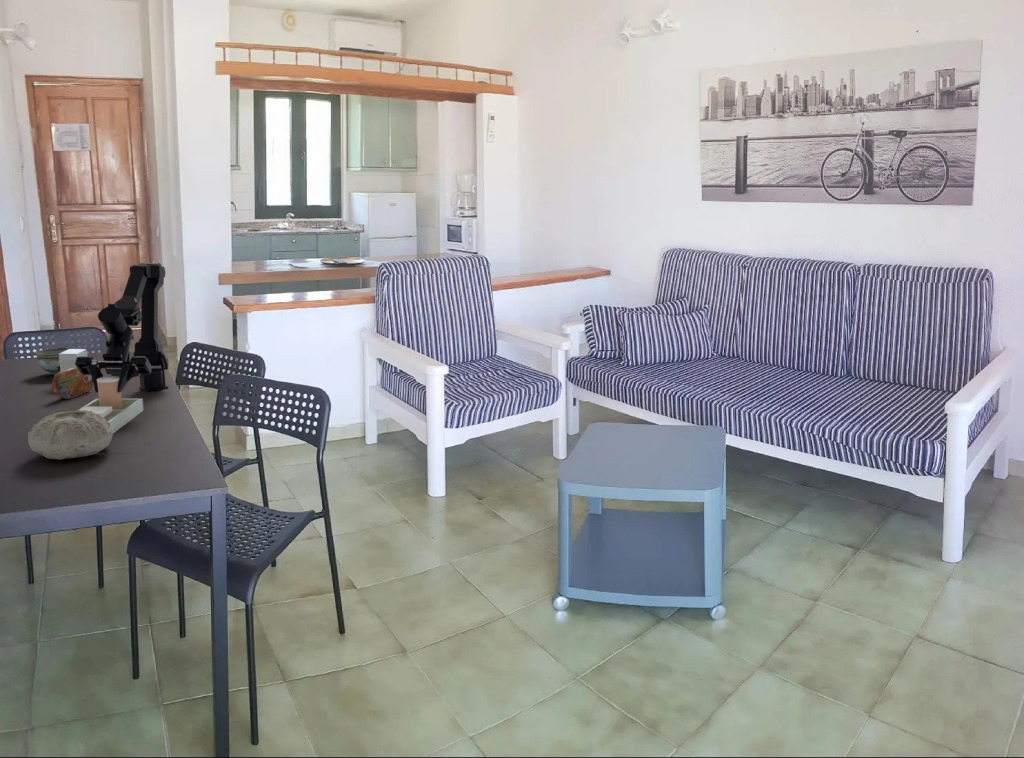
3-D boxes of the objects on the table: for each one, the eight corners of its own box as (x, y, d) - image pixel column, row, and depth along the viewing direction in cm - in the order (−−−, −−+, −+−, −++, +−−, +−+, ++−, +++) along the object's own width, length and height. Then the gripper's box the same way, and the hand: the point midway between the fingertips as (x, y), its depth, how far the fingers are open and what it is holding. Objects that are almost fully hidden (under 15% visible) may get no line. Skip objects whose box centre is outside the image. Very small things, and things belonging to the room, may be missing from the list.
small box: (72, 380, 273) (68, 348, 271) (90, 380, 274) (86, 348, 271) (61, 386, 265) (57, 353, 263) (79, 386, 266) (76, 353, 263)
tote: (97, 412, 236) (96, 398, 235) (143, 412, 237) (142, 398, 236) (59, 438, 212) (57, 422, 212) (110, 437, 214) (109, 422, 213)
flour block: (86, 424, 222) (84, 406, 221) (114, 424, 223) (112, 406, 222) (74, 432, 215) (73, 413, 214) (103, 432, 216) (101, 413, 215)
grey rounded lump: (116, 460, 196) (112, 419, 194) (29, 471, 188) (24, 428, 186) (112, 440, 212) (108, 401, 210) (31, 449, 204) (26, 409, 201)
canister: (108, 410, 234) (105, 375, 231) (127, 411, 233) (124, 376, 230) (95, 416, 228) (92, 380, 226) (114, 417, 227) (111, 381, 225)
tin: (61, 401, 247) (58, 374, 245) (51, 401, 248) (48, 373, 246) (95, 390, 261) (92, 363, 259) (86, 389, 262) (83, 363, 260)
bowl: (70, 379, 274) (67, 355, 272) (29, 378, 274) (26, 354, 273) (91, 370, 288) (89, 347, 286) (52, 369, 288) (49, 346, 286)
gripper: (161, 359, 243) (151, 406, 235) (94, 359, 242) (82, 406, 234) (150, 337, 234) (139, 385, 226) (80, 337, 232) (67, 386, 224)
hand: (107, 391), depth 228 cm, fingers closed on canister, 5 cm apart
